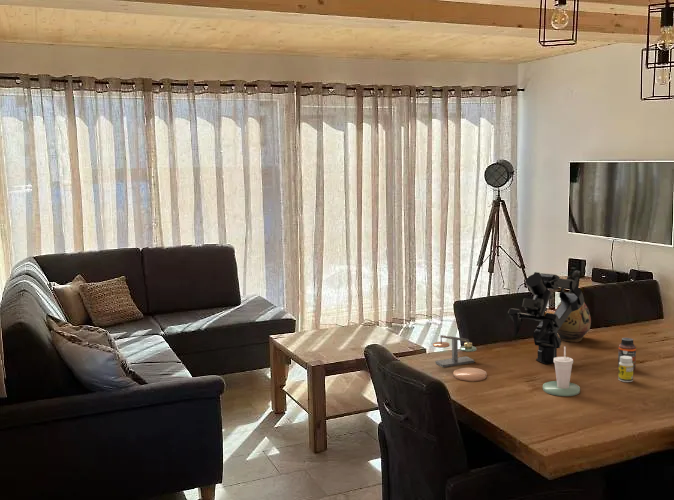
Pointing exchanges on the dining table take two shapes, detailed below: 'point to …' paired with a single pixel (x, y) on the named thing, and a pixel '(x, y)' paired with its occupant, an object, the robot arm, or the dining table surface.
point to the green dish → (561, 389)
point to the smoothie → (563, 370)
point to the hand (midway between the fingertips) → (526, 336)
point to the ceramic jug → (575, 319)
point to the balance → (455, 352)
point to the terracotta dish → (470, 374)
